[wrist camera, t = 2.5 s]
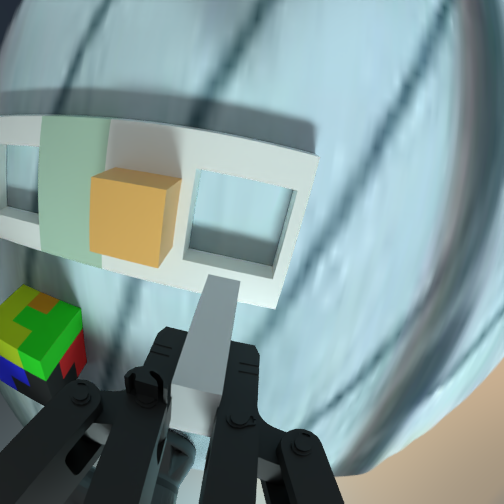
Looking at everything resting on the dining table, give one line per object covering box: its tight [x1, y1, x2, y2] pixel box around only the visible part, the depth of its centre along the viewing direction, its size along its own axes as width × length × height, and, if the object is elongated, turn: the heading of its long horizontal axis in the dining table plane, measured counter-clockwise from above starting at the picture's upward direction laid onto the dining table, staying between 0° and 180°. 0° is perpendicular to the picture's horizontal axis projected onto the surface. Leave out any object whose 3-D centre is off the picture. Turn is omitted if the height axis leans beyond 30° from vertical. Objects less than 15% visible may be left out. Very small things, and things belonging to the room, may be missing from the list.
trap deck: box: [0, 114, 320, 309], centre depth 25 cm, size 14×34×2 cm, turn 78°
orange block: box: [89, 167, 182, 268], centre depth 22 cm, size 6×6×4 cm
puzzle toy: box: [0, 284, 87, 406], centre depth 30 cm, size 10×10×10 cm
